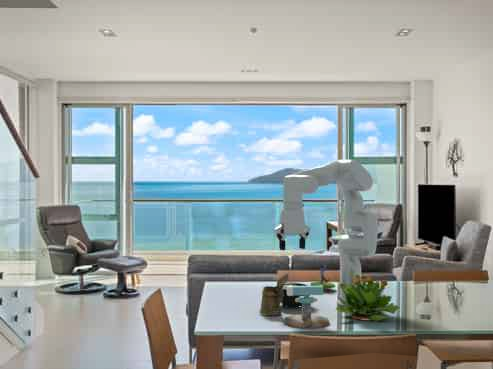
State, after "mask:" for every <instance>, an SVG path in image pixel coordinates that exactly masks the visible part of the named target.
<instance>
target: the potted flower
mask: <svg viewBox="0 0 493 369" xmlns="http://www.w3.org/2000/svg"><path fill="white" fill-rule="evenodd" d="M358 277H359V278H358ZM360 278H361V280H360ZM353 283H354V284H356V285H355V286H357V287H355V286H354V285H352V287H351V285H346V284H345V283H344V284H343V283H341V284H340V283H339V289H340V288H342V289H343V292H344V293H345V296H346V302H345V301H344V300H342V299H341V298H340V296H336V298H337V300H339V301H340V302H341V303H342V304H343V305H344V306H341V305H340V306H336V308H335V310H336V311H339V312H341V313H345V314H349V315H350V317H351V318H352V319H353V318H355V319H354V320H356V319H371V320H370V321H372V320H374V321H373V322H379V321H381V320H383V319H387V318H388V317H389V316H388V314H387V313H389V314H392V315H395V313H396V311H397V310H399V309H400V306H399V305H394V304H395V303H394V302H391V300H392V298H393V297H392V296H391V295H386V294H383V293H384V290H386V289H385V288H386V286H388V285H389V283H388V280H387V279H380V281H379V280H378V279H377V280H375V281H374V280H373V277H369V276H368V277H367V276H366V274H365V273H363V274H362V273H361V277H360V275H355V280H353ZM360 283H361V284H360ZM390 302H391V303H390Z"/></svg>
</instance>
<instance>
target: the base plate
mask: <svg viewBox="0 0 493 369" xmlns="http://www.w3.org/2000/svg"><path fill="white" fill-rule="evenodd" d="M284 323H285V324H287V325H289V326H288V327H290V326H292V327H291V328H295V327H296V328H297V329H306V328H311V329H320V328H319V327H322V328H325V327H327V326H326V325H328V324H329V325H330V320H329V318H328V317H325V316H322V315H318V314H317V315H315V314H312V303H310V304H304V303H302V307H301V311H300V314H292V315H288V316H285V317H284V318H283V324H284ZM285 324H284V325H285ZM287 325H286V326H287ZM329 325H328V326H329ZM324 326H325V327H324Z"/></svg>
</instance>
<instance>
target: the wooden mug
mask: <svg viewBox="0 0 493 369" xmlns="http://www.w3.org/2000/svg"><path fill="white" fill-rule="evenodd" d="M288 280H289V274H288V273H285V274H284V275H283V276H281V277H280V278H279V279H278V281H277V283H276V285H275V286H276V287H275V286H269V285H268V286H267V285H266V286H264V287H262V288H263V289H262V291H261V294H262V295H261V296H262V297H261V303H260V309H259V313H261V314H265V315H277V314H280V315H281V314H282V309H281V304H282V303H281V301H282V299H283V296H284V293H283V289H282V286H283V285H284V284H287V283H288V282H287V281H288ZM279 294H280V297H279V296H278V295H279ZM277 316H278V315H277Z"/></svg>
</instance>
